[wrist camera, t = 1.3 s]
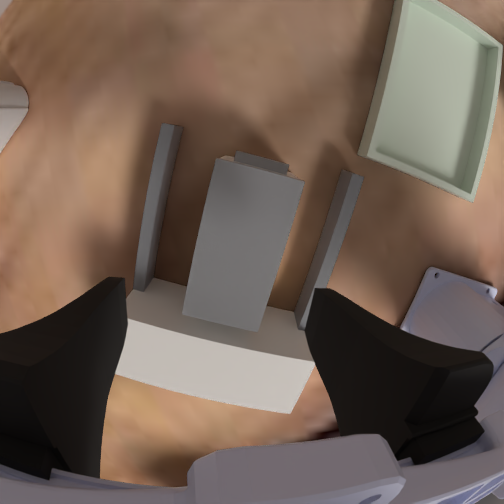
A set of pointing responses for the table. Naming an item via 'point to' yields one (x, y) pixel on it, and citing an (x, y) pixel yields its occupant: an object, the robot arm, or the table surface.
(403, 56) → the tray
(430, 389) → the robot arm
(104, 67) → the table surface
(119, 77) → the table surface
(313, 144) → the table surface
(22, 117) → the photo printer
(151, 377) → the printer bay
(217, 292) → the grey rectangular block
